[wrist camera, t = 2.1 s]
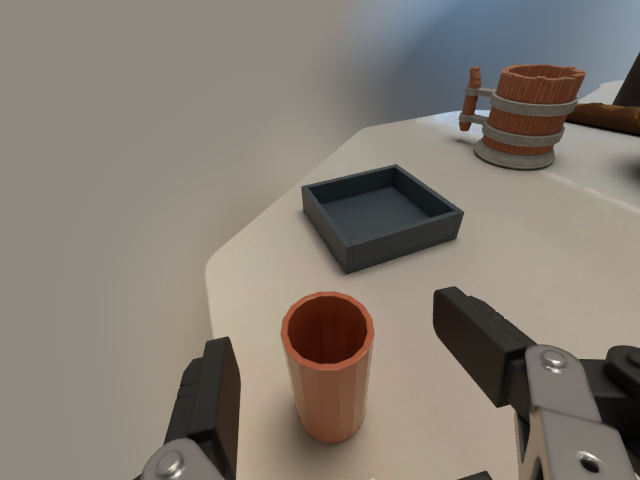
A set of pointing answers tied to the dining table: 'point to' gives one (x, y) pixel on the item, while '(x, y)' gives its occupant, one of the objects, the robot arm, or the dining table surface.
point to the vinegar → (630, 88)
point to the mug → (522, 113)
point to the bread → (607, 116)
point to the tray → (378, 216)
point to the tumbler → (329, 363)
